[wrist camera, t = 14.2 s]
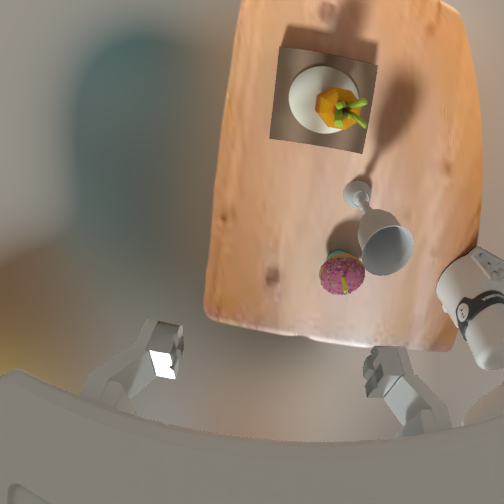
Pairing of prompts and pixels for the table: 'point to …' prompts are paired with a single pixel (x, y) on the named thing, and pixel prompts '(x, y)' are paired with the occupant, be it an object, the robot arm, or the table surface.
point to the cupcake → (341, 273)
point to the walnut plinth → (308, 87)
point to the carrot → (339, 108)
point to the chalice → (378, 233)
